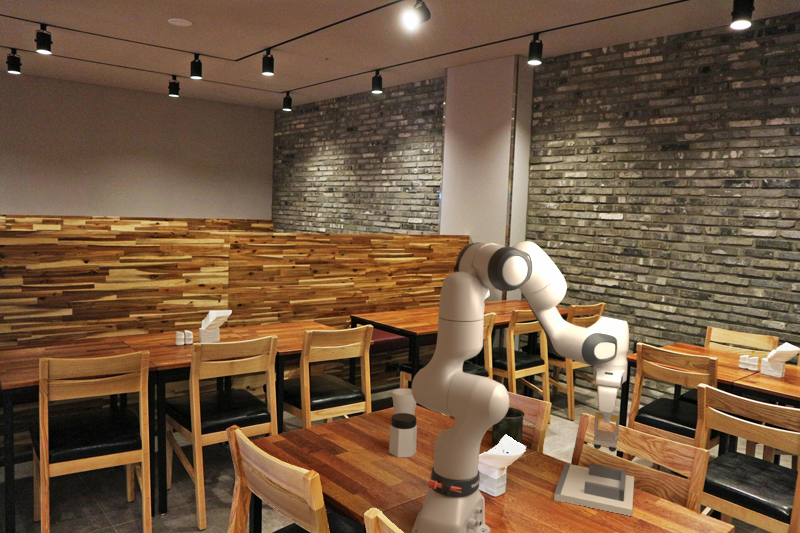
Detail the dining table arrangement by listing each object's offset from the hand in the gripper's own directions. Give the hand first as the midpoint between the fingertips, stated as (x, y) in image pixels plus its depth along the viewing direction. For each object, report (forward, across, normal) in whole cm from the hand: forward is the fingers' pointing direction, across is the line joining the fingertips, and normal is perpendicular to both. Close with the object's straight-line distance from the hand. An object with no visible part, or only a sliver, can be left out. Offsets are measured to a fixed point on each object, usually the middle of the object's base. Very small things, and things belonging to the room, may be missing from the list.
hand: (607, 420), depth 162 cm
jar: (+21, +1, -62) cm, 66 cm away
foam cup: (+22, -21, -71) cm, 77 cm away
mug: (+22, -19, -33) cm, 44 cm away
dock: (+21, 0, -2) cm, 21 cm away
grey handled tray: (+8, 0, 0) cm, 8 cm away
